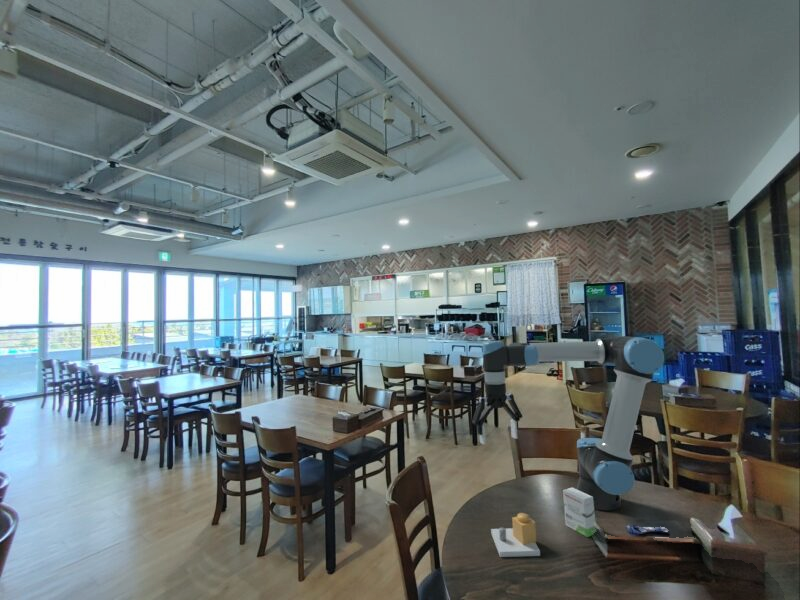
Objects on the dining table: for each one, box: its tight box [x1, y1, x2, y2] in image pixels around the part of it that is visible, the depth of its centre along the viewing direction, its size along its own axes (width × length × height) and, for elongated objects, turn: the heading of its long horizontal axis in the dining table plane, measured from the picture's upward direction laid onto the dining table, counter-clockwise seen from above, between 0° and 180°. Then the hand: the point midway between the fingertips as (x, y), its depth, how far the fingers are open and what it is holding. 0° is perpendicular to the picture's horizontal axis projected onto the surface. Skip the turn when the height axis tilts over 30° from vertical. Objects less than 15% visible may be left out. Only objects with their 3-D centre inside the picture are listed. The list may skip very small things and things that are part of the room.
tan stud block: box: [511, 512, 537, 545], centre depth 114 cm, size 5×5×7 cm
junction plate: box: [490, 527, 541, 558], centre depth 114 cm, size 12×12×5 cm
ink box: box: [562, 487, 596, 538], centre depth 120 cm, size 9×5×12 cm, turn 26°
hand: (498, 440), depth 132 cm, fingers open, 13 cm apart
